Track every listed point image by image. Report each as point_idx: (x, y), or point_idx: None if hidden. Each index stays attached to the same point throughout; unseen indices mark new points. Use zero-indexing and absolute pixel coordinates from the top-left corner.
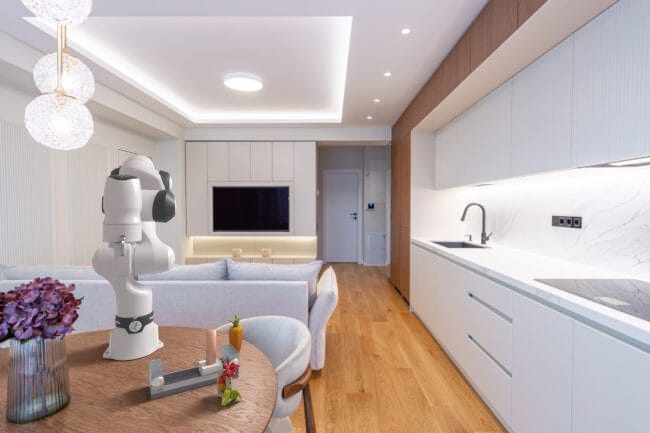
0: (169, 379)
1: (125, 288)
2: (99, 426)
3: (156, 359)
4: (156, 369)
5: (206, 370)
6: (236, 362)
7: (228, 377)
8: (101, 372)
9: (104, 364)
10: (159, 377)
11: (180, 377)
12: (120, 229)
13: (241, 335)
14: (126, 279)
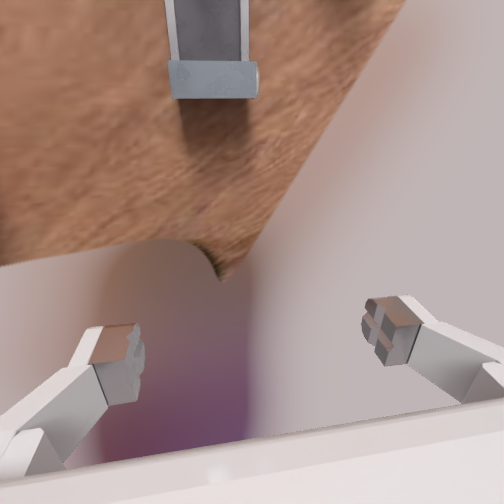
0: (189, 41)
1: (411, 298)
2: (286, 187)
3: (170, 75)
4: (242, 82)
5: None
6: None
7: None
8: (58, 206)
9: (7, 205)
10: (258, 76)
11: (191, 5)
12: None
13: None
14: (489, 342)
